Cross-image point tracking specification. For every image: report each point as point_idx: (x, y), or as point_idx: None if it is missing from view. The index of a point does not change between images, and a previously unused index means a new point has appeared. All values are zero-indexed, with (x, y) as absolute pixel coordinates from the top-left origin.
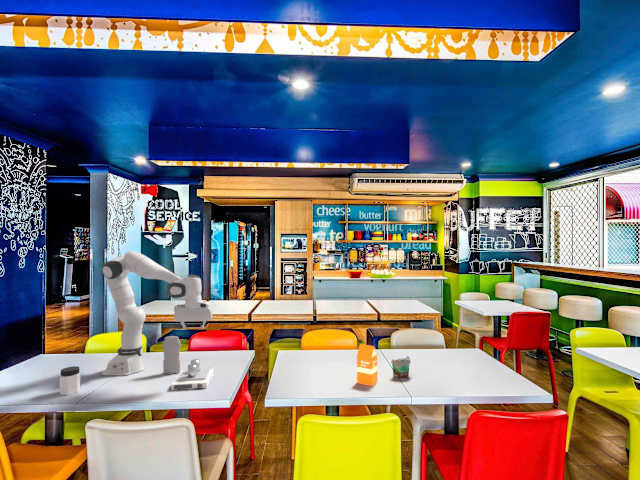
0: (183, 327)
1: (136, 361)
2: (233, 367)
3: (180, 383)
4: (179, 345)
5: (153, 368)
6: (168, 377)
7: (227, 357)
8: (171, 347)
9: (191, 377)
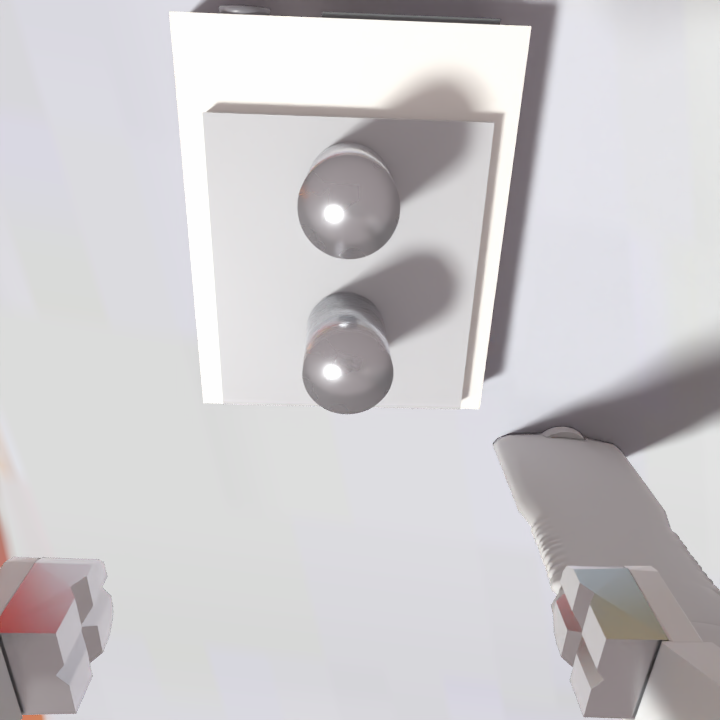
0: (667, 609)
1: None
2: (84, 491)
3: (441, 44)
4: None
5: (700, 561)
6: (573, 363)
7: (192, 682)
8: None
9: (348, 143)
